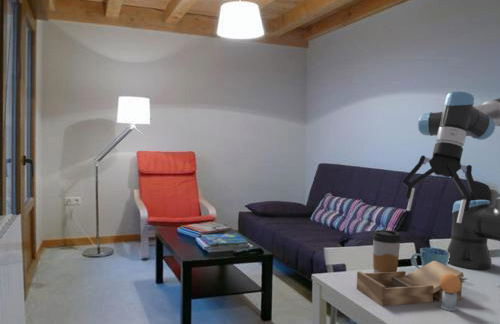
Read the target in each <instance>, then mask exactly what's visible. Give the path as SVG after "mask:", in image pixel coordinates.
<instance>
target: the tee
mask: <svg viewBox="0 0 500 324" xmlns="http://www.w3.org/2000/svg"><path fill="white" fill-rule="evenodd" d="M457 301H458V300H457V293H452V294H451V293H447V292H445V291H443V292H442V301H441V304H440V308H441V309H442V310H445V311H449V312H456V311H458V306H457Z"/></svg>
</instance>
